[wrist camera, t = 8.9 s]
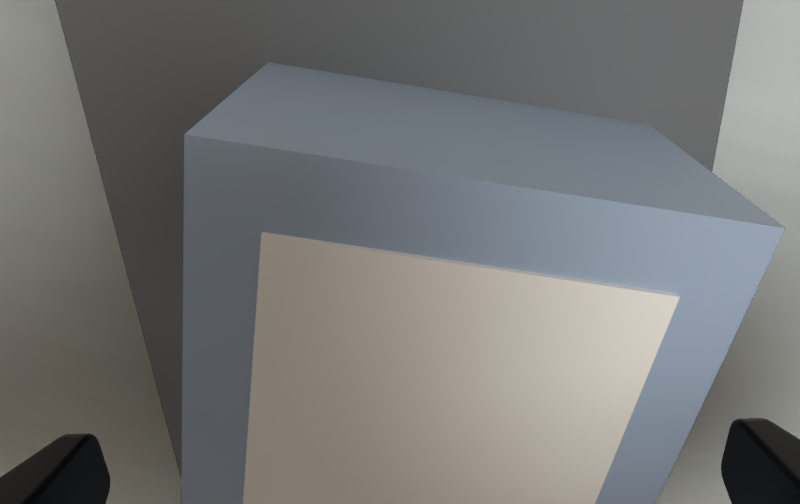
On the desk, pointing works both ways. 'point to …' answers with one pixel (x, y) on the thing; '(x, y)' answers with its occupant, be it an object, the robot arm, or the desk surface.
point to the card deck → (447, 297)
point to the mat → (369, 58)
